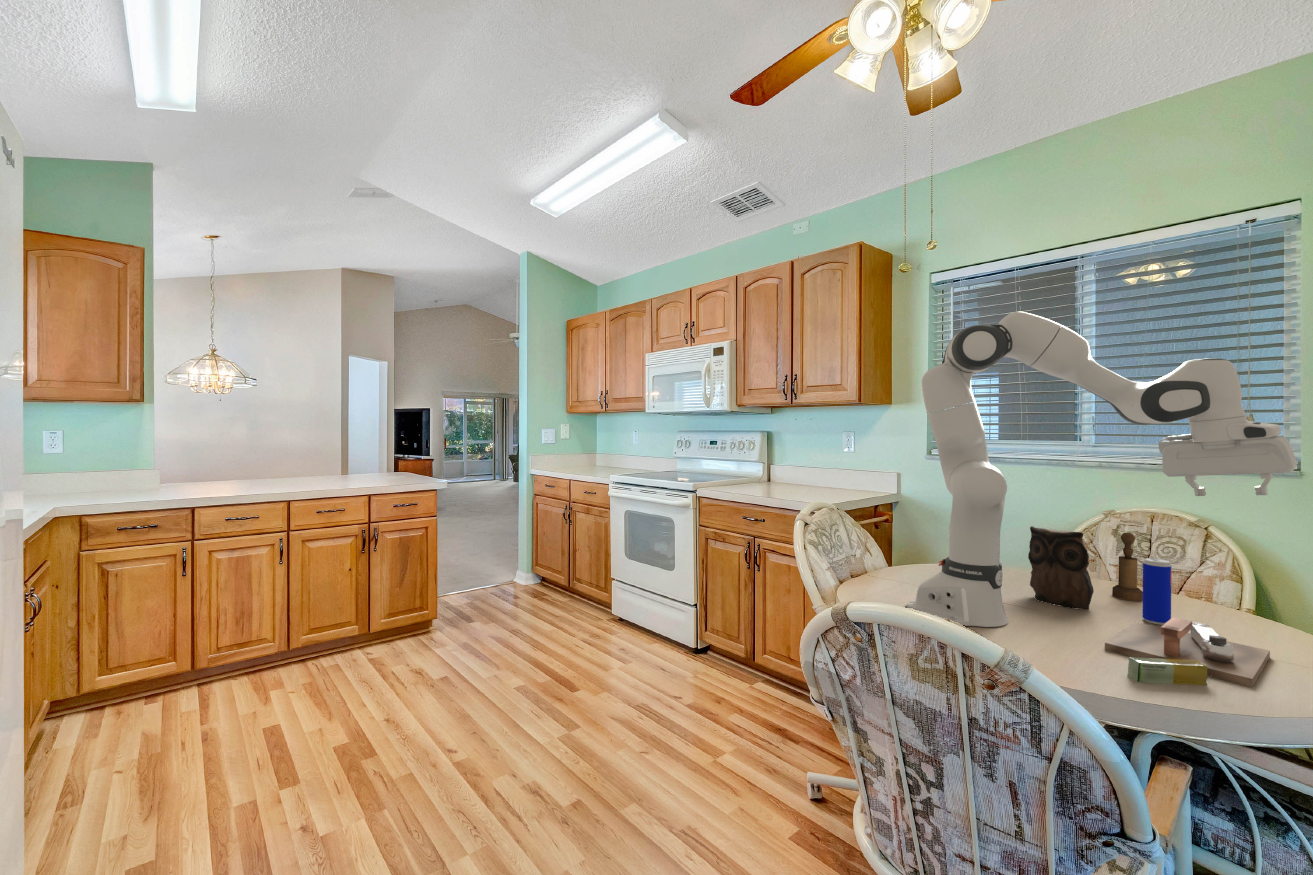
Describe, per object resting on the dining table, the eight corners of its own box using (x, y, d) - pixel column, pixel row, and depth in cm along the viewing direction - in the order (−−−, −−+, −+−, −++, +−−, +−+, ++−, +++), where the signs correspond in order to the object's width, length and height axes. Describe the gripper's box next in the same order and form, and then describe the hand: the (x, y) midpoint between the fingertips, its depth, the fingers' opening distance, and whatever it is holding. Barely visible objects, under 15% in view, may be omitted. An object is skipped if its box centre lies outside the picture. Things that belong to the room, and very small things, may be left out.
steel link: (1236, 663, 106) (1237, 650, 106) (1205, 658, 109) (1205, 645, 109) (1212, 635, 120) (1212, 624, 120) (1184, 631, 123) (1184, 620, 123)
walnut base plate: (1104, 649, 118) (1105, 617, 118) (1134, 627, 131) (1134, 599, 131) (1252, 687, 101) (1252, 649, 101) (1269, 657, 114) (1270, 624, 114)
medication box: (1136, 683, 103) (1137, 662, 103) (1126, 676, 106) (1126, 656, 106) (1208, 686, 102) (1208, 665, 102) (1195, 679, 105) (1196, 658, 104)
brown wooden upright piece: (1149, 601, 151) (1150, 535, 151) (1125, 601, 151) (1126, 535, 151) (1129, 594, 158) (1129, 530, 157) (1106, 594, 158) (1106, 530, 158)
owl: (1095, 611, 143) (1096, 533, 142) (1037, 606, 147) (1038, 530, 147) (1077, 597, 155) (1077, 525, 154) (1024, 593, 159) (1024, 523, 159)
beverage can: (1176, 626, 132) (1177, 563, 132) (1151, 624, 133) (1151, 562, 133) (1161, 618, 137) (1162, 558, 137) (1137, 617, 138) (1137, 557, 138)
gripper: (1152, 438, 127) (1162, 498, 127) (1284, 427, 110) (1297, 497, 110) (1161, 435, 131) (1171, 493, 130) (1291, 424, 114) (1303, 491, 113)
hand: (1230, 495), depth 120 cm, fingers open, 8 cm apart
